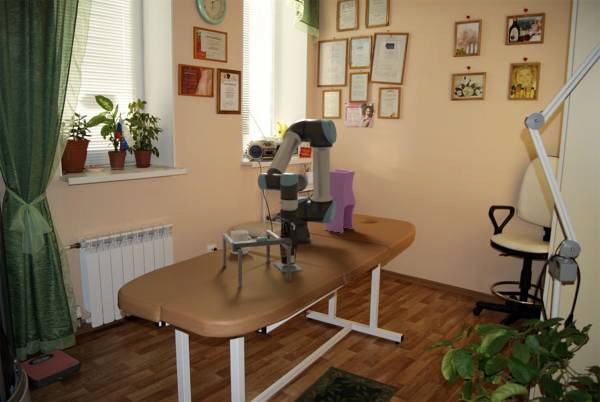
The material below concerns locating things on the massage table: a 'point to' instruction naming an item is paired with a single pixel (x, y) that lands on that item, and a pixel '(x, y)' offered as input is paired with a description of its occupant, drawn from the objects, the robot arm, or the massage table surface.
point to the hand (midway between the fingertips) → (288, 259)
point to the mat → (284, 267)
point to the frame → (273, 235)
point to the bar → (260, 242)
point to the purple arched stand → (342, 200)
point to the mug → (241, 239)
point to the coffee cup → (284, 251)
